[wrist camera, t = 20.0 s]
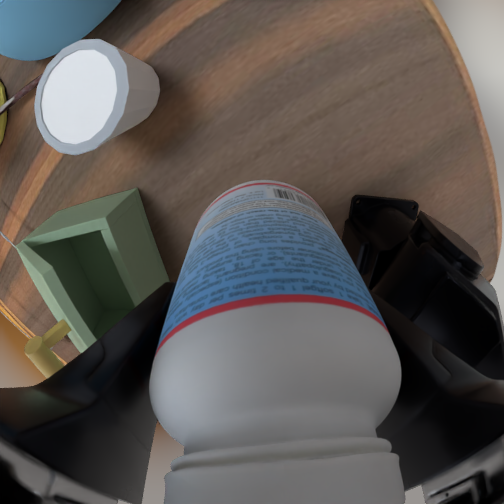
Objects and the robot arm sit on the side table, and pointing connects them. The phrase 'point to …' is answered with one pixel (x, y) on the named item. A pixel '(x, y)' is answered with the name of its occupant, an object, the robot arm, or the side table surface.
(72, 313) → the lid
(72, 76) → the shot glass
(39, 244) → the chest
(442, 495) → the robot arm
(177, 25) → the side table surface
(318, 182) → the side table surface
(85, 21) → the sugar bowl
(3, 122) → the candle
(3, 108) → the pen
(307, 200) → the pill bottle
